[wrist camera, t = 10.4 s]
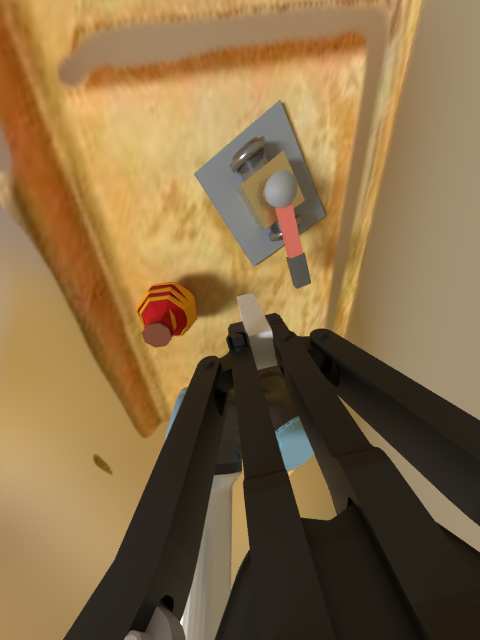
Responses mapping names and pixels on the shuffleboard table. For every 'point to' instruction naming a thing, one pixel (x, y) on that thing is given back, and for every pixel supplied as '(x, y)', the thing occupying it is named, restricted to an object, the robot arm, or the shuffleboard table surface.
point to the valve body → (261, 184)
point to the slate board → (225, 182)
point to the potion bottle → (166, 313)
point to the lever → (288, 223)
